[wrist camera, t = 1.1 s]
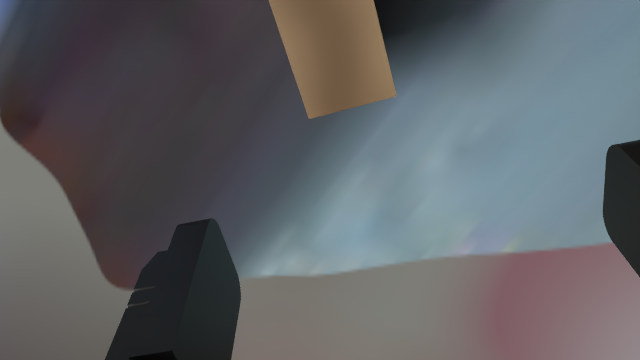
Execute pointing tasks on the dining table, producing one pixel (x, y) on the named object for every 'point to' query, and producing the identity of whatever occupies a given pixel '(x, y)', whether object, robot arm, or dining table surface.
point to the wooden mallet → (334, 53)
